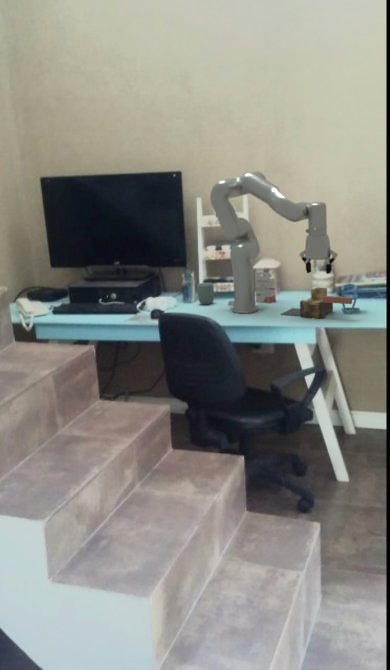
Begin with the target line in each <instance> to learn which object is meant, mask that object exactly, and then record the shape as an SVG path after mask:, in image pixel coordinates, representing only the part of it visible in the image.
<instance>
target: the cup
mask: <svg viewBox="0 0 390 670" xmlns="http://www.w3.org/2000/svg"><path fill="white" fill-rule="evenodd" d="M196 288H197V298H198V301H199V303H200V304H201V305H207V306H208V305H212V303H213V302H214V300H215V287H214V283H213V282H199V283H198V284H197V286H196Z"/></svg>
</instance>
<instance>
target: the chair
mask: <svg viewBox="0 0 390 670" xmlns="http://www.w3.org/2000/svg"><path fill="white" fill-rule="evenodd" d="M340 287H341V288H340V289H341V297H352V301H353V302H352V306H351V307H346V304H341V305H342V307H341V311H342V312H343V314H344V315H347V313H348V312H347V311H350V312H349V314H350V315H353V314H355V313H356V311H357V312H359V311H360V310H361V309H360V307H355V305H356V303H357V299H358V296H359V294H358V293H357V289H358V288H359V287H358V285H355V284H353V283H346V284H344V285H343V284H342V286H340ZM346 289H352V290H353V294H348V293H346Z"/></svg>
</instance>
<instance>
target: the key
mask: <svg viewBox="0 0 390 670" xmlns="http://www.w3.org/2000/svg"><path fill="white" fill-rule="evenodd" d="M323 302H324V303H333V304H341V305H342V304H345V305H353V299H352V297H342V296H333V295H327V296H324V297H323Z"/></svg>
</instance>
